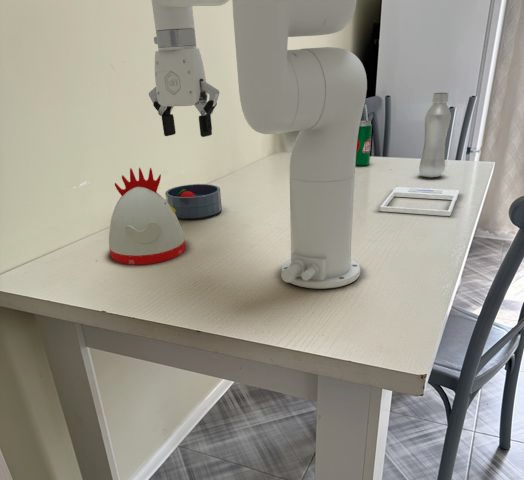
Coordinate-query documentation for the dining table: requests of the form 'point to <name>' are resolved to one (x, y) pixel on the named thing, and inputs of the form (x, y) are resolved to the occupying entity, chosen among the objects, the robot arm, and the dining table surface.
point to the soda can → (363, 143)
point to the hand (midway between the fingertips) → (187, 135)
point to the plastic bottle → (435, 137)
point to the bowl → (195, 201)
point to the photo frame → (421, 194)
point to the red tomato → (185, 194)
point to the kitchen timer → (144, 224)
